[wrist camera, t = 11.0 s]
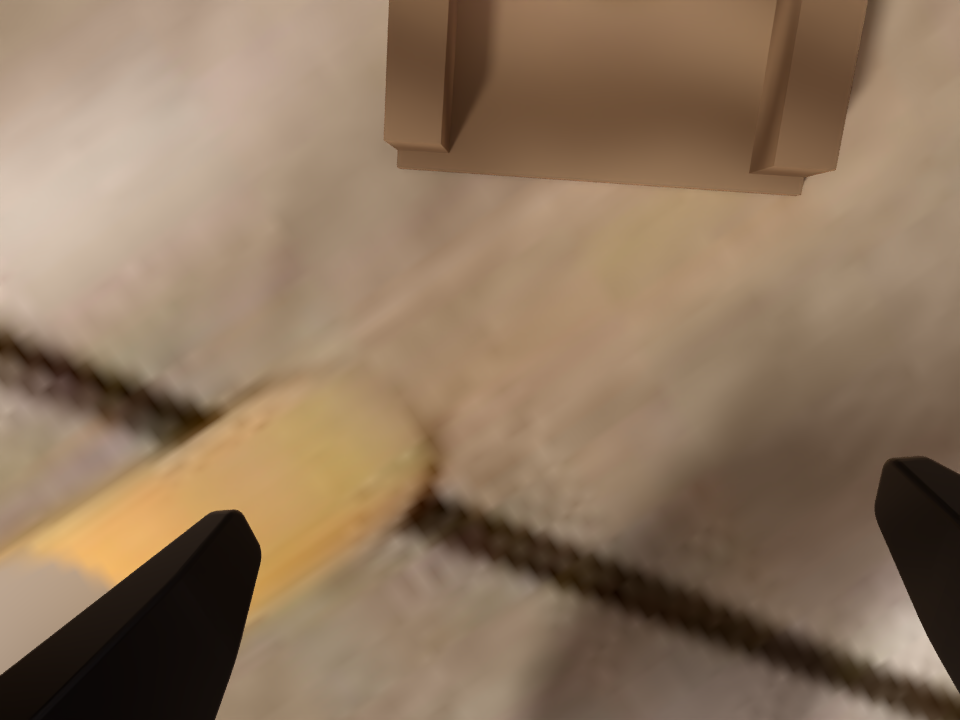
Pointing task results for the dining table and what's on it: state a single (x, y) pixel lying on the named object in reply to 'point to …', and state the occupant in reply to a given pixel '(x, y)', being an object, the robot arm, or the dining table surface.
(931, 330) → the dining table surface
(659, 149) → the brown wooden frame
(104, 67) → the dining table surface
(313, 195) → the dining table surface
